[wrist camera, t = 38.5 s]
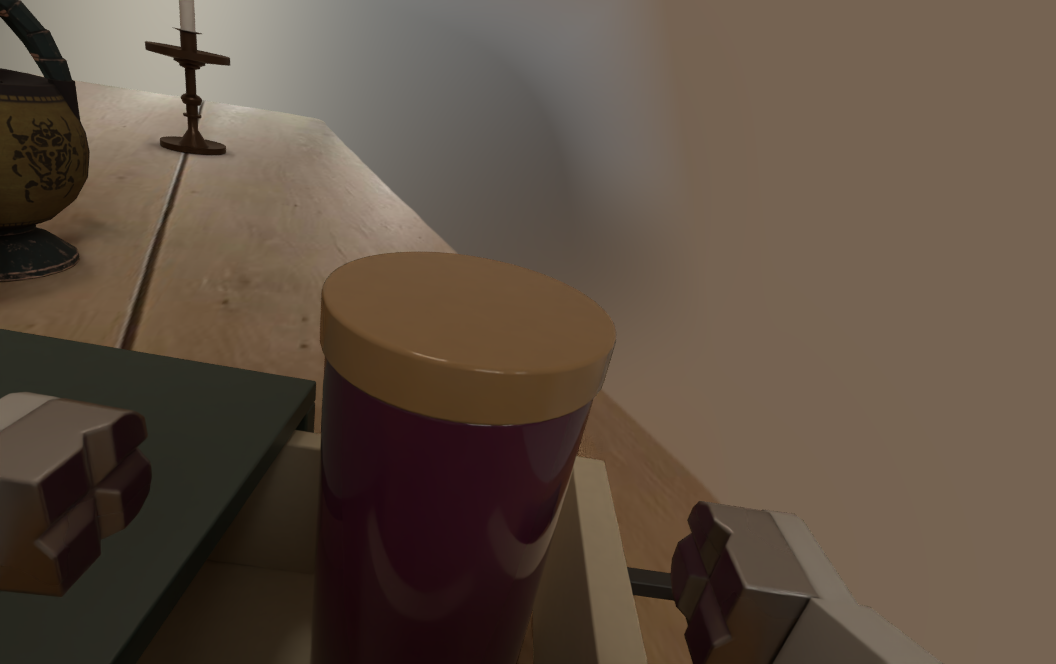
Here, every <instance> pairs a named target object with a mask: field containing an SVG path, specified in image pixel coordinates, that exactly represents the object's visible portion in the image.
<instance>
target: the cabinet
mask: <svg viewBox="0 0 1056 664" xmlns="http://www.w3.org/2000/svg"><path fill="white" fill-rule="evenodd" d="M19 392H30V393H36V394H42V395H47V396H53V397H58V398H67V399H72V400H78V401H83V402H89V403H94V404H100V405H106V406H111V407H117V408H122V409H128V410H133V411H136V412H138V413H139V414H141V415H142V416H144V417H145V421H146V427H147V433H148V437H147V438H146V439H145V441H144V442H143V443H142V444H141V445H140V446H139V447H138V448H139V449H140V450H141V451H142V453H143V454H144V455H145V456H146V457H147V458H148V460H149V461H150V462H151V470H152V480H151V485H150V491H149V494H148V496H147V498H146V500H145V502H144V504H143V506H142V508H141V510H140V512H139V513H138V515H137V516H136V517H135V518H134V519H133V520H132V521H131V523H130V524H129V525H128V526H127V527H126V528H125V529H124V530H121V531H119V532H117V533H115V534H113V535H111V536H109V537H106V538H104V539H102V540H101V555H100V557H99V558H98V559H97V560H96V561H95V562H94V563H93V564H92V565H91V566H90V567H89V568H88V569H87V571H86V572H85V573H84V574H83V575H82V576H81V577H80V578H79V579H78V580H77V581H76V582H75V583H74V585H73V586H72V587H71V588H70V589H69V590H68V591H67V592H66V593H65V594H64V595H63V596H62V597H55V596H45V595H35V594H25V593H15V592H5V591H0V664H136V663H137V661H138V660H139V658H140V657H141V655H142V654H143V652H144V651H145V649H146V648H147V647H148V645H149V644H150V642H151V641H152V639H153V638H154V636H155V635H156V633H157V632H158V630H159V629H160V627H161V626H162V624H163V623H164V622H165V620H166V619H167V617H168V616H169V614H170V613H171V611H172V610H173V608H174V607H175V605H176V604H177V602H178V601H179V600H180V598H181V597H182V595H183V594H184V592H185V591H186V589H187V588H188V586H189V585H190V583H191V582H192V580H193V579H194V577H195V576H196V575H197V573H198V572H199V570H200V569H201V567H202V566H203V564H204V563H205V561H206V560H207V558H208V557H209V555H210V554H211V553H212V551H213V550H214V548H215V547H216V545H217V544H218V542H219V541H220V539H221V538H222V536H223V535H224V533H225V532H226V530H227V529H228V528H229V526H230V525H231V523H232V522H233V520H234V519H235V517H236V516H237V514H238V513H239V511H240V510H241V508H242V507H243V506H244V504H245V503H246V501H247V500H248V498H249V497H250V495H251V494H252V492H253V491H254V489H255V488H256V486H257V485H258V483H259V482H260V481H261V479H262V478H263V476H264V475H265V473H266V472H267V470H268V469H269V467H270V466H271V464H272V463H273V461H274V460H275V459H276V457H277V456H278V454H279V453H280V451H281V450H282V448H283V447H284V445H285V444H286V442H287V441H288V439H289V438H290V436H291V435H292V434H293V432H294V431H295V430H298V431H305V432H311V433H314V415H315V402H314V401H315V396H316V382H315V381H311V380H305V379H299V378H293V377H287V376H281V375H275V374H269V373H263V372H257V371H251V370H245V369H239V368H233V367H227V366H221V365H215V364H209V363H203V362H197V361H191V360H185V359H179V358H173V357H167V356H161V355H155V354H149V353H143V352H137V351H131V350H125V349H119V348H113V347H107V346H101V345H95V344H89V343H82V342H76V341H70V340H64V339H58V338H52V337H46V336H40V335H34V334H28V333H22V332H16V331H10V330H4V329H0V399H1V398H3V397H4V396H6V395H8V394H10V393H19Z"/></svg>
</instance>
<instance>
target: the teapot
mask: <svg viewBox="0 0 1056 664" xmlns="http://www.w3.org/2000/svg"><path fill="white" fill-rule="evenodd" d="M0 17H1V18H2V19H3V20H4V21H5V22H6V24H7V25H8V26H9V27H10V28H11V29H12V30H13V32H14V33H15V34H16V35H17V36H18V38H19V39H20V40H21V41H22V42H23V44H24V45H25V47H26V48H27V50H28V51H29V53H30V54H31V56H32V57H33V59H34V60H35V62H36V63H37V65H38V67H39V68H40V70H41V72H42V73H43V75H44V77H45V78H44V77H40V76H36V75H32V74H28V73H22V72H17V71H12V70H7V69H0V281H11V280H21V279H28V278H35V277H42V276H46V275H50V274H54V273H57V272H61V271H64V270H66V269H68V268H70V267H72V266H74V265H75V264H76V263H77V262H78V260H79V253H78V251H77V248H76V247H74V246H72V245H71V244H69V243H67V242H66V241H64V240H62V239H60V238H59V237H57V236H55V235H54V234H52V233H50V232H48V231H47V230H44V229H40V228H37V227H36V224H39V223H42V222H45V221H48V220H51V219H52V218H53V217H55V216H56V215H57V214H58V213H60V212H61V211H62V210H63V209H65V208H66V207H67V206H68V205H70V204H71V203H72V202H73V201H74V200H75V199H76V198H77V196H78V195H79V193H80V191H81V189H82V187H83V185H84V183H85V182H86V180H87V178H88V167H89V153H90V152H89V147H88V142H87V137H86V132H85V130H84V128H83V126H82V124H81V122H80V116H79V109H78V101H77V94H76V86H75V81H73V80H72V78H71V75H70V71H69V68H68V64H67V61H66V60H65V59H64V58H62V56H61V54H60V52H59V50H58V47H57V45H56V43H55V41H54V39H53V37H52V35H51V33H50V31H49V30H46V29H45V28H44V27H43V26H42V25H41V24H40V22H39V21H38V20H37V19H36V18H35V17H34V16H33V14H32V13H31V12H30V11H29V10H28V9H27V7H26V6H25V5H24V4H23V3H22V2H21V1H20V0H0Z"/></svg>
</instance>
